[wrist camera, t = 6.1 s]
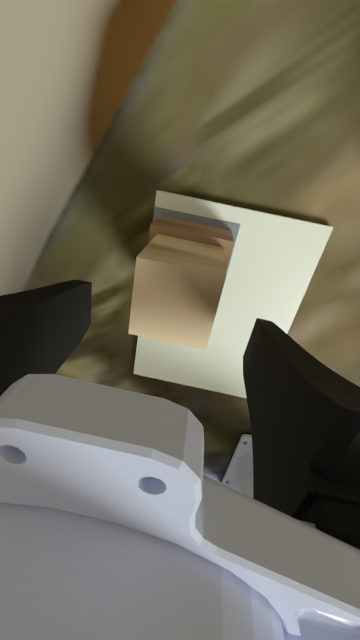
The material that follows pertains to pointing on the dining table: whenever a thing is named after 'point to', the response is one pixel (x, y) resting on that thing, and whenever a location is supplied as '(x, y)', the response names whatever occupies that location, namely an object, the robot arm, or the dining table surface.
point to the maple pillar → (177, 291)
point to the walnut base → (193, 233)
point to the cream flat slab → (237, 290)
